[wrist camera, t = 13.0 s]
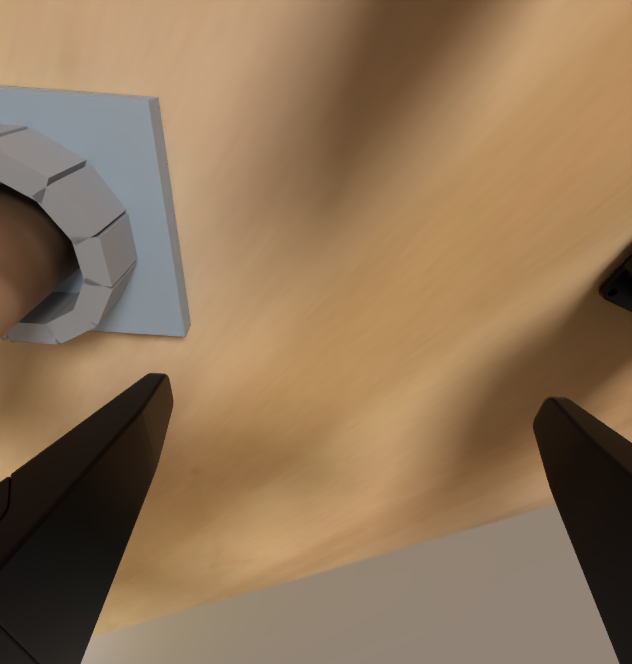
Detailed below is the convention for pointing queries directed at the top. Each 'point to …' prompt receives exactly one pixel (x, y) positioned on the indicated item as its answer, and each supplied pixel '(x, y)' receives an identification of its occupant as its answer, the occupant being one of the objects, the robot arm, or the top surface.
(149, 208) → the collar socket
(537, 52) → the top surface
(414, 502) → the top surface
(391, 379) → the top surface
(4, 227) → the walnut peg
